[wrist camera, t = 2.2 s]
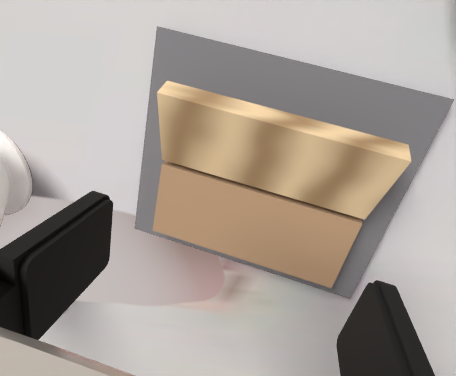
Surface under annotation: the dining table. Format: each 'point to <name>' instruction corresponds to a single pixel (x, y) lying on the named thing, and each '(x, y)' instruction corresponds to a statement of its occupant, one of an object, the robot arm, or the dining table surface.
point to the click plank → (278, 150)
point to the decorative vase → (13, 178)
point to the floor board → (299, 101)
